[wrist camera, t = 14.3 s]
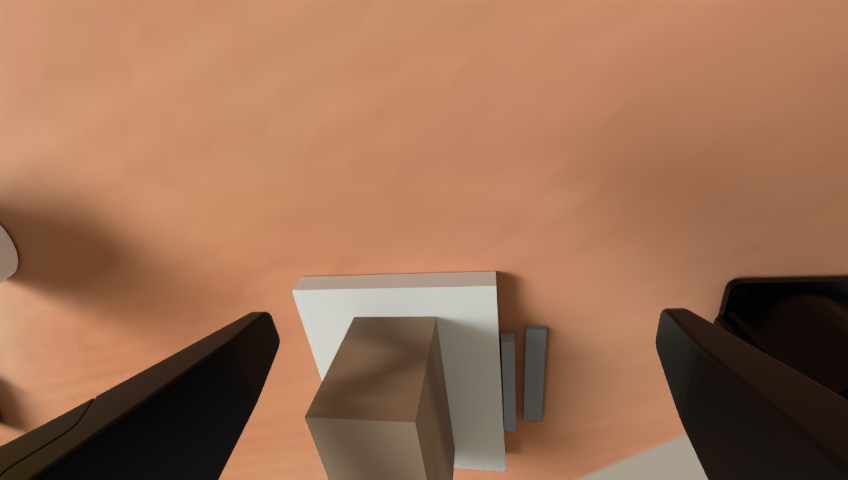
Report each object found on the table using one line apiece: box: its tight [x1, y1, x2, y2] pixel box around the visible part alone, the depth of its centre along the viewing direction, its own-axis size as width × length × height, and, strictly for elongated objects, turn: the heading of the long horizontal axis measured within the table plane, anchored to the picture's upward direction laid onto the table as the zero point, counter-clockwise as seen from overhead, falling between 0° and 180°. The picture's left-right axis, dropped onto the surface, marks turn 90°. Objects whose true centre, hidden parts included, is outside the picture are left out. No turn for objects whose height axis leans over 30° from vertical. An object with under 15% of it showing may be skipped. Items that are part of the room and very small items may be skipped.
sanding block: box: [305, 316, 455, 480], centre depth 22 cm, size 5×12×7 cm, turn 8°
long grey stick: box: [501, 333, 516, 432], centre depth 25 cm, size 1×8×1 cm
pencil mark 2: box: [523, 326, 547, 422], centre depth 25 cm, size 1×8×1 cm, turn 6°
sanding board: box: [292, 271, 506, 472], centre depth 26 cm, size 12×16×2 cm
